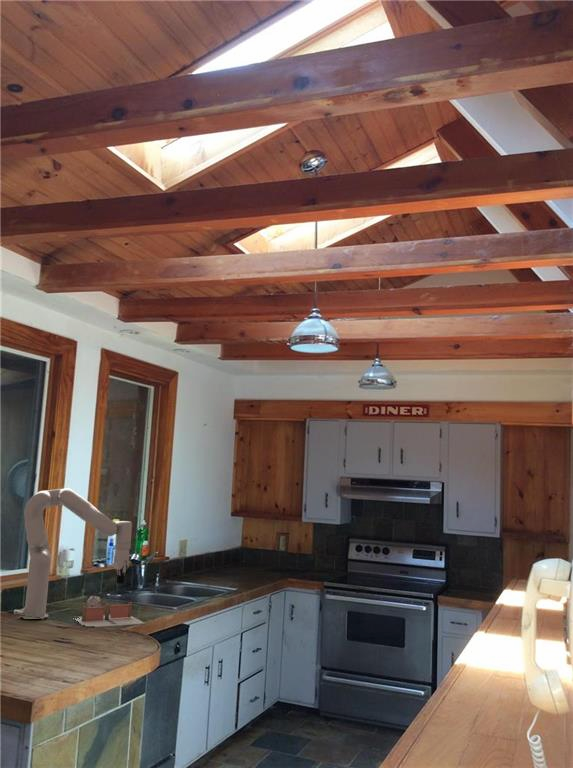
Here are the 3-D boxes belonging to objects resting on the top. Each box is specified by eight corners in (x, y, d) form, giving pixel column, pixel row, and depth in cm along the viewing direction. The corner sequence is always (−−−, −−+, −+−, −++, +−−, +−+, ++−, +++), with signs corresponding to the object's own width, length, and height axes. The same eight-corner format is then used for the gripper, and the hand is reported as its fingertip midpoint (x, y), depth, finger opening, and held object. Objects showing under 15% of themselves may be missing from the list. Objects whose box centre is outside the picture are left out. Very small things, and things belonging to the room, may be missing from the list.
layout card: (86, 628, 302) (86, 627, 302) (71, 618, 322) (71, 617, 322) (144, 623, 317) (144, 622, 317) (127, 614, 337) (127, 613, 337)
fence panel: (110, 618, 321) (111, 604, 322) (109, 617, 323) (110, 603, 324) (131, 617, 327) (132, 603, 328) (130, 616, 328) (131, 602, 330)
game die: (95, 618, 343) (108, 601, 347) (92, 615, 335) (105, 598, 340) (82, 608, 345) (95, 591, 349) (78, 604, 337) (92, 588, 342)
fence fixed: (82, 621, 314) (83, 606, 315) (80, 620, 315) (82, 605, 316) (109, 619, 321) (110, 604, 322) (108, 618, 322) (109, 603, 324)
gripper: (110, 544, 340) (107, 581, 337) (120, 547, 328) (117, 585, 325) (124, 544, 344) (122, 580, 341) (135, 547, 332) (132, 585, 329)
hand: (120, 583), depth 333 cm, fingers closed
